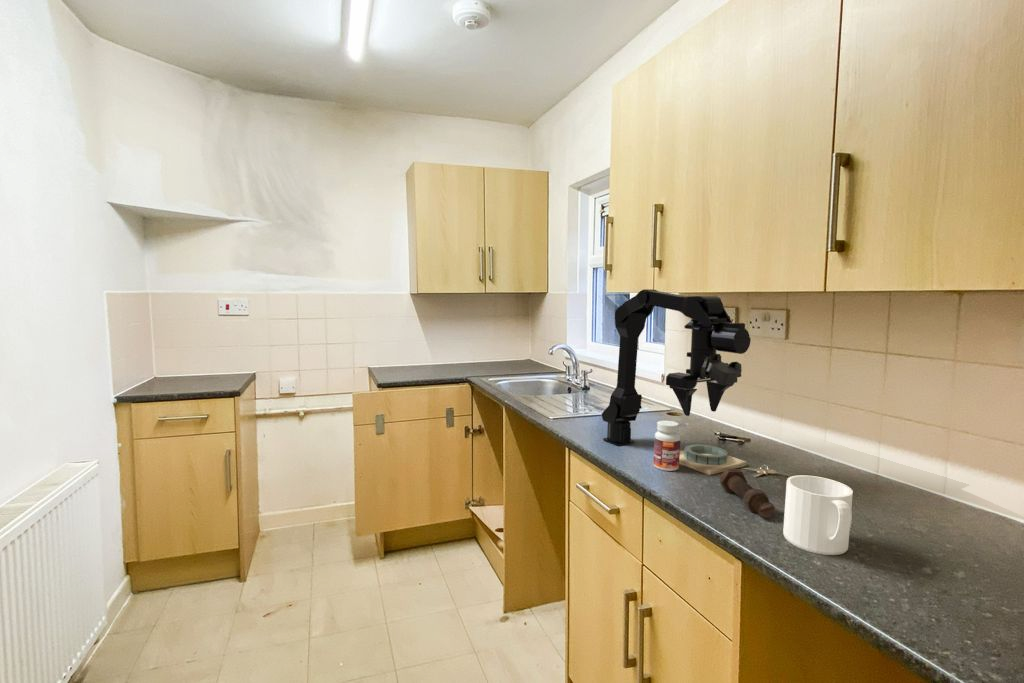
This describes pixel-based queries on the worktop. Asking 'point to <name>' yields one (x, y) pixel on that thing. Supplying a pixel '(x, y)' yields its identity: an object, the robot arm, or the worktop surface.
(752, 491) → the bolt
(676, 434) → the pill bottle
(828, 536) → the mug
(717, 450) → the socket
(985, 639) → the worktop surface
